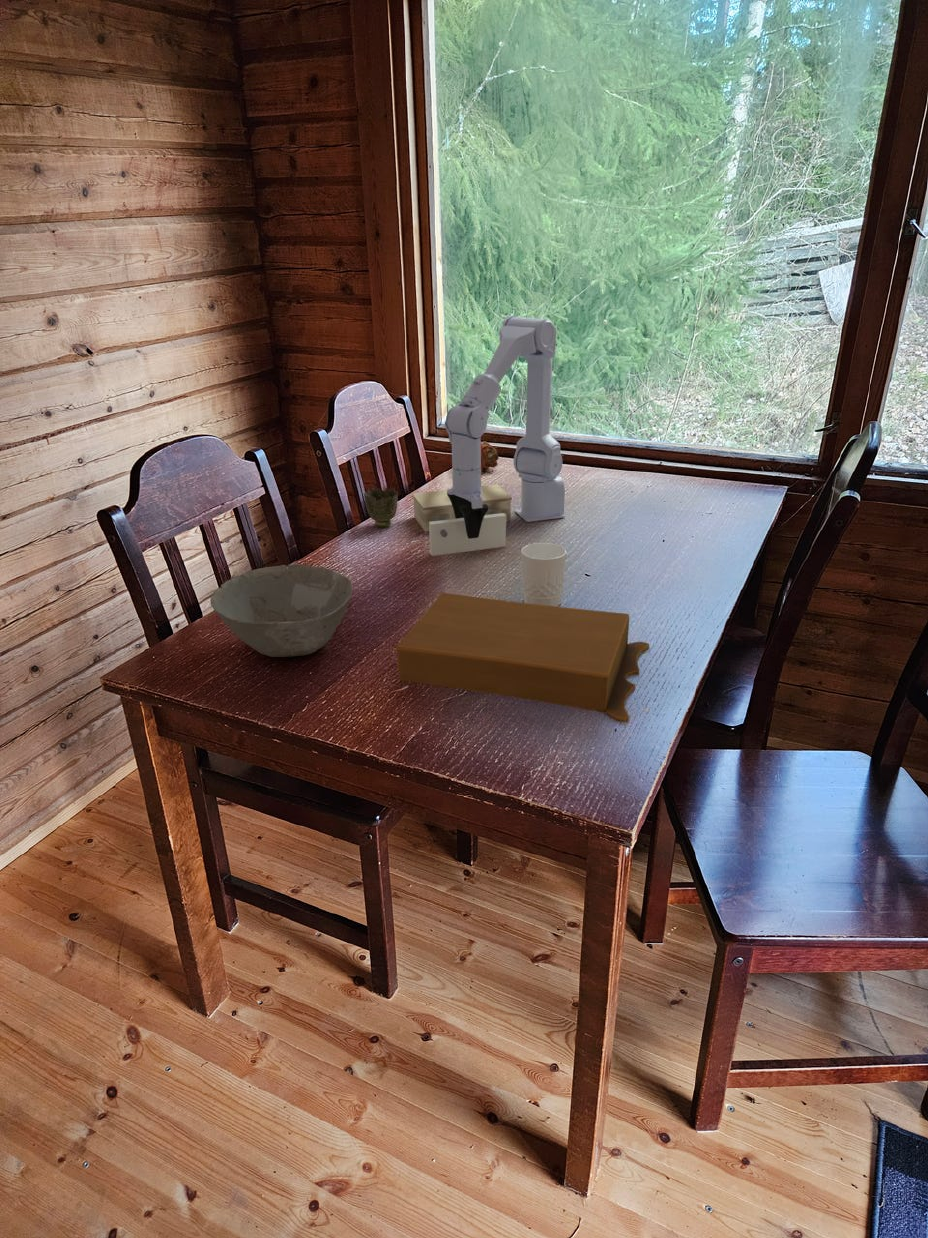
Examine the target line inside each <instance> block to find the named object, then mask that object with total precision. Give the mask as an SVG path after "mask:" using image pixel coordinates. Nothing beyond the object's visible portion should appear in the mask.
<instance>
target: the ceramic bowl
mask: <svg viewBox="0 0 928 1238" xmlns="http://www.w3.org/2000/svg"><path fill="white" fill-rule="evenodd" d="M353 591H354V585H353V583H352V580H351V579H350V578H349V577H348V576H346V575H345V574H343V573H340V572H338V571H336V570H333V569H330V568H326V567H322V566H315V565H313V566H312V565H309V564H300V563H293V564H287V565H285V564H282V565H277V566H275V565H274V566H268V567H260V568H256V569H252V570H248V571H246V572H243V573H241V574H240V575H239V574H238V575H235V576H233V577H232V578H231V577H230V579H227V580H226V581H225V582H223V583H222V584H220V587H217V588H216V589H215V590H214V591H213V592H212V594H211V597H210V605H211V608H212V609H213V610H214V612H215V613H216V614H217V615H218V616H219V617H220V619H221V620H223V621H222V622H224V623H225V625H226V626H227V627H228V629H230V630H231V631H232V633H233V634H235V636H236V637H238V639H240V640H241V641H242V642H243V643H245V644H246V645H248V646H249V647H251V649H254V650H255V651H257V652H258V653H259V654H261V655H263V656H267V657H271V658H290V657H300V656H301V657H302V656H308V655H311V654H313V653H315V652H316V651H319V649H321V648H323V647H325V646H326V644H327V643H328V641H330V639H331V638H332V637H333V635H334V633H335V631H337V627H338V626H339V625H340V623H341V621H342V619H343V617H344V615H345V613H346V611H347V609H348V605H349V603H350V600H351V598H352V595H353Z"/></svg>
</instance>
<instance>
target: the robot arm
mask: <svg viewBox="0 0 928 1238" xmlns="http://www.w3.org/2000/svg"><path fill="white" fill-rule="evenodd" d="M498 335H499V343H498V345H497V348H496V349H495V351H494V354H493V356H491V357H492V358H491V360H490V361H489V363H488V365H487V368H486V370H485V372H484V374H478V375H476V376H475V377H474V380H473V381H472V382H471V384H470V385H469V387H468V389H467V391H466V392H465V394H464V395H463V397H462V399H461V400H460V402H459V404H456V405H454V406H453V407H451V408H450V409H449V410H448V412H447V413H446V418H445V421H444V429H445V431H446V433H447V435H448V441H449V443H450V444H451V465H452V466H451V467H452V468H451V469H452V487H451V488H447V489H446V490H447V495H448V497H449V499H450V501H451V503H452V506H453V510H454V514H455V518H456V519H458V518H464V521H465V527H466V533H467V536H468V538H469V539H471V538H478V537H479V533H480V529H481V524H482V521H483V518H484V516H485V514H486V512H487V511H488V505H487V504H482V498H481V496H482V487H481V486H482V471H481V443H482V441H481V440H482V439H481V438H482V436H483V435H484V433H485V432H486V430H487V427H488V420H489V417H490V413H489V412H490V410H491V409H492V407H493V406H494V404H495V402H496V400H497V399H498V397H499V395H500V394H501V392H502V390H501V384H500V383H501V381H502V380H503V379H504V378H505V376H506V374H507V373H508V371H510V369H511V367H512V366H513V365H514V363H515V362H516V361H517V360H518V358H519V357H523V359H524V360H525V362H527V372H526V375H527V376H526V409H525V410H526V412H525V413H526V415H525V417H526V419H525V435H524V436H523V437H521V438H520V439H519V440H518V441H517V442H516V449H515V453H514V456H513V467H514V468H513V469H514V470H515V472H516V473H518V477H519V478H520V479H521V489H520V491H521V495H520V496H521V497H520V498H521V499H520V500H521V502H520V503H521V505H520V508H515V509H514V510H515V511H514V512H515V513H517V514H518V515H519V517H521V519H523V520H524V521H525V522H527V523H530V522H538V521H546V520H547V521H548V520H554V519H562V518H565V517H566V515H565V497H566V495H565V493H566V492H565V491H566V488H565V483H564V480H563V478H562V477H561V475H560V473H561V471H562V468H563V457H562V453H561V444H560V442H558V440H556V439H555V438H554V437H553V436H552V435H551V409H552V408H551V407H552V403H551V402H552V381H553V379H552V378H553V358H555V356H556V344H557V341H556V340H557V327H556V326H555V324H554V323H553V322H552V320H551V319H549V318H547V317H543V318H539V317H538V318H536V317H522V316H521V317H520V316H515V315H509V316H507V317H506V318H505V319H504V321H503V323H502V326H501V327H500V328H499V334H498Z"/></svg>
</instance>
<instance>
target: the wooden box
mask: <svg viewBox="0 0 928 1238" xmlns="http://www.w3.org/2000/svg"><path fill="white" fill-rule="evenodd" d="M629 627H630V614H629V613H623V612H616V611H615V612H613V611H605V610H604V611H601V610H595V609H594V610H592V609H583V608H573V607H563V606H558V607H556V606H546V605H537V604H528V603H524V602H519V601H512V600H511V601H507V600H503V599H495V598H486V597H480V596H472V595H464V594H456V593H450V592H449V593H448V592H443V591H442V592H441V593H440V594H439V596H437V597H436V599H435V600H434V602H433V603H432V604H431V605H430V606H429V608H427V610H426V611H425V612H424V613H423V615H422V616H421V617H420V618H419V619H418V621H417V622H416V623H415V624H414V625H413V627H411V629H410V630H409V631H408V633H407V634H406V635H405V636H404V637H403V639H402V640H401V641H400V642H399V643H398V644H397V646H396V658H397V661H396V662H397V672H398V680H399V681H401V682H408V683H414V684H423V685H431V686H439V687H445V688H452V689H453V688H454V689H458V690H460V689H461V690H464V691H465V690H466V691H471V692H472V691H473V692H477V693H478V692H480V693H486V694H494V695H499V696H504V697H505V696H506V697H512V698H517V699H518V698H519V699H523V700H530V701H536V702H542V703H548V704H553V705H558V706H559V705H560V706H564V707H571V708H575V709H582V710H588V711H592V712H593V711H594V712H597V713H598V712H599V713H604V714H605V715H606V716H608V718H610V719H612V720H615V721H617V722H621V723H627V722H629V721H630V715H629V713H628V711H627V709H626V708H625V706H626V705H625V703H626V701H627V699H628V698H629V696H630V695H631V693H633V692H634V690H635V689H636V684H635V683H632V682H630V681H628V680H627V678H628V677H630V676H633V675H640V668H639V665H638V661H639V660H638V659H639V658H640V656H641V654H642V653H644V652H645V651H647V650H648V649H650V643H648V642H644V641H634V642H630V643H629V642H628V641H629Z"/></svg>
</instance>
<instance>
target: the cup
mask: <svg viewBox="0 0 928 1238" xmlns="http://www.w3.org/2000/svg"><path fill="white" fill-rule="evenodd" d="M398 494H399V492H398V491H397V489H396V490H395V489H394V488H393V487H390V488H389V487H386V488H385V489H384V490H381V488H380V487H377V488H376V487H373V488H371V490H370V489H367V491H366V490H365V491H364V493H363V495H364V500H365V505H366V506H365V507H366V510H367V513H368V516H369V517H370V518H371V520H373V521H374V525H375V526H376V528H379V529H380V528H381V529H384V528H388V527H390V526H391V524H392V521H391V520H392V519H394V518H395V516H396V514H397V511H398V510H397V509H398Z"/></svg>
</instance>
